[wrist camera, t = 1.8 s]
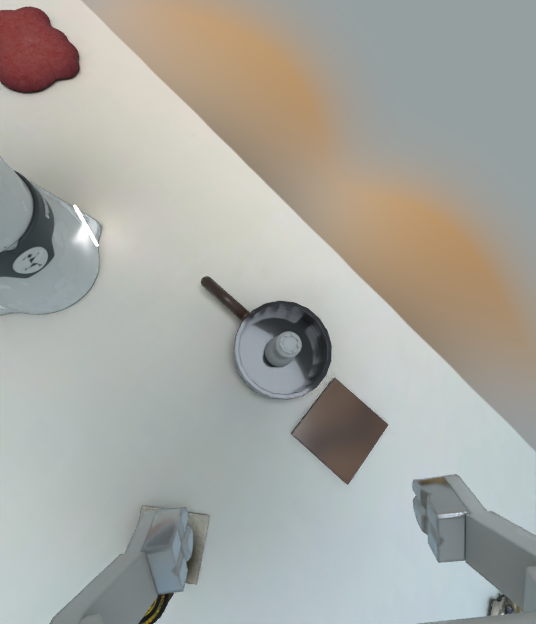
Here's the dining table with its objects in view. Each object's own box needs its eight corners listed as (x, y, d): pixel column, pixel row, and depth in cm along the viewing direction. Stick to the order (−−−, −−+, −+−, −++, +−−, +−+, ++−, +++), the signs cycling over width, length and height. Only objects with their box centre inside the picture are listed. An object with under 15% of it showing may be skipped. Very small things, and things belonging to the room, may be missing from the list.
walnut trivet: (290, 433, 45) (291, 433, 45) (333, 378, 48) (335, 377, 47) (346, 483, 44) (348, 484, 44) (386, 424, 47) (388, 424, 47)
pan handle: (198, 284, 47) (198, 280, 45) (206, 276, 47) (206, 272, 45) (244, 324, 46) (245, 322, 44) (252, 316, 46) (253, 314, 45)
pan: (214, 355, 46) (213, 352, 43) (274, 291, 50) (278, 282, 46) (284, 418, 46) (290, 420, 42) (340, 348, 49) (350, 344, 45)
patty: (-43, 34, 54) (-53, 21, 52) (34, 3, 58) (27, -10, 56) (19, 105, 52) (11, 94, 51) (94, 68, 56) (90, 56, 54)
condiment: (142, 505, 41) (110, 547, 29) (210, 515, 41) (204, 560, 30) (125, 573, 39) (84, 648, 27) (196, 583, 39) (186, 659, 28)
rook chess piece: (269, 370, 47) (278, 365, 39) (260, 341, 48) (268, 330, 40) (298, 362, 48) (312, 355, 40) (289, 333, 48) (302, 321, 41)
